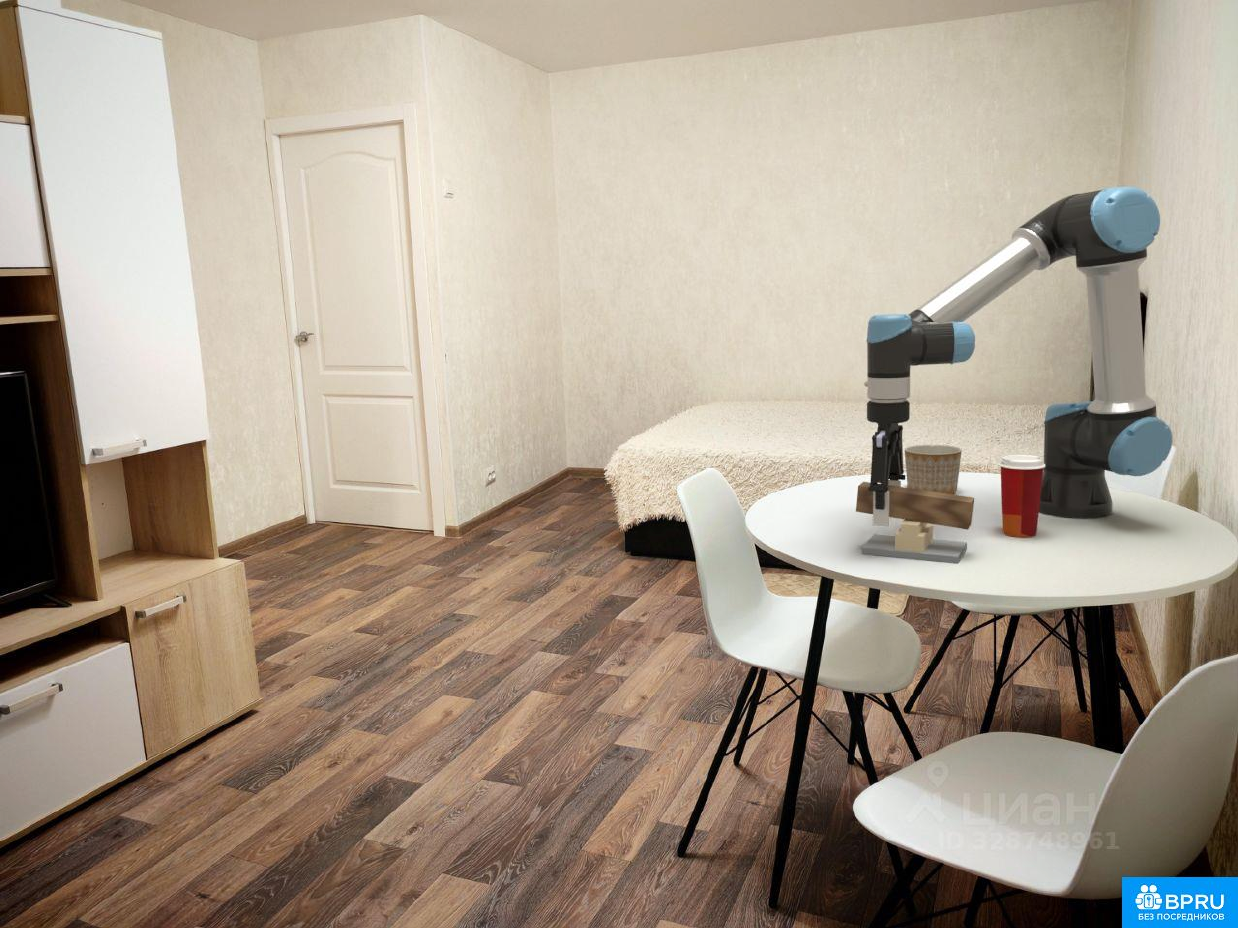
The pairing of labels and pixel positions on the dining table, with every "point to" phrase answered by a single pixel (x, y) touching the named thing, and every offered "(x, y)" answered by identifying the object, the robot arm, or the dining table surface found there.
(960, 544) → the fulcrum
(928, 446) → the planter
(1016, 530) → the coffee cup
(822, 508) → the dining table surface
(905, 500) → the bar
